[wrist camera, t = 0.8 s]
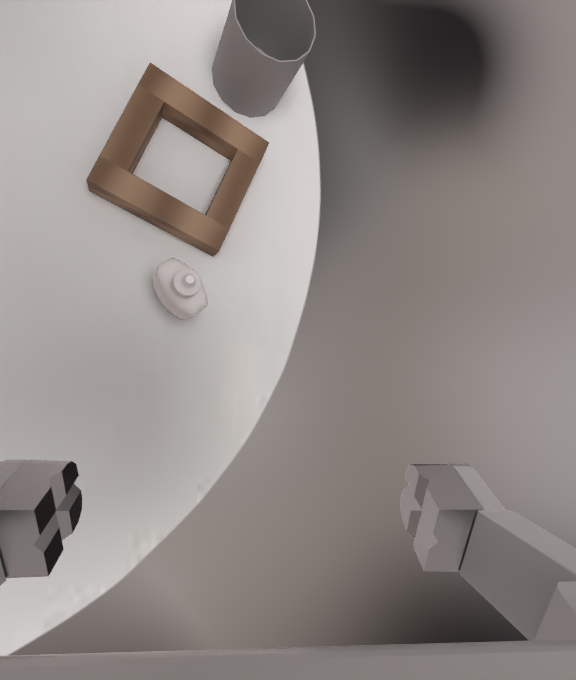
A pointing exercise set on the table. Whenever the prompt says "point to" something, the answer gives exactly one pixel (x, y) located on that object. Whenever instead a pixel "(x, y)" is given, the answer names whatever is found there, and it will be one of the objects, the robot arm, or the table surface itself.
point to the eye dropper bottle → (179, 289)
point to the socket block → (200, 122)
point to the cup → (261, 52)
